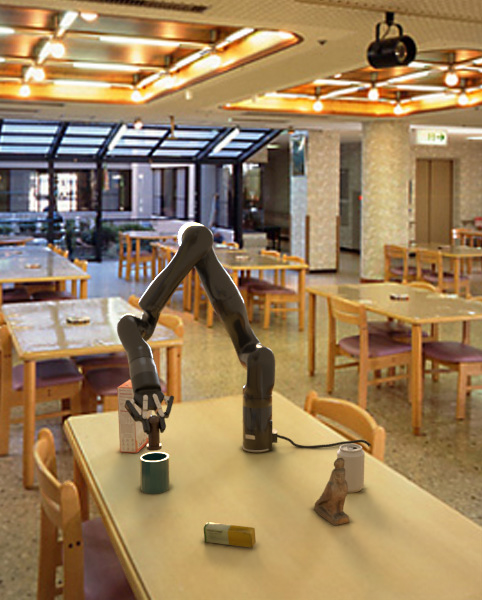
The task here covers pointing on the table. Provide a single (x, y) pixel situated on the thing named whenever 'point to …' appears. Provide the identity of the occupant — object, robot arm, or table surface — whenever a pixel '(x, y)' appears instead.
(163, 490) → the cup
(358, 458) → the can
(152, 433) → the game pawn
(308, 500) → the table surface
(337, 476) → the worn brown figurine
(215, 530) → the medication box
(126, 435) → the cracker box
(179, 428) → the table surface
